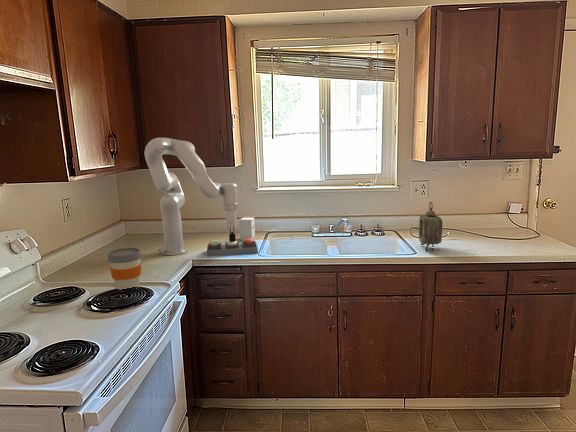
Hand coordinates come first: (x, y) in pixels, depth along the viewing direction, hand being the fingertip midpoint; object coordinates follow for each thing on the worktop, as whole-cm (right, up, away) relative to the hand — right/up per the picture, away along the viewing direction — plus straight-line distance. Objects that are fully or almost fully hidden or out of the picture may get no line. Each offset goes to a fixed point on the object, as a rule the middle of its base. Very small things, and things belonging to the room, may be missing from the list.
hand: (232, 241), depth 213 cm
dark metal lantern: (+104, -4, 0) cm, 104 cm away
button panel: (0, -6, +1) cm, 6 cm away
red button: (+9, -1, +2) cm, 9 cm away
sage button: (-9, -2, -1) cm, 9 cm away
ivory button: (0, -2, 0) cm, 2 cm away
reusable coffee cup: (-36, -16, -47) cm, 62 cm away
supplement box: (+5, -1, +27) cm, 28 cm away
